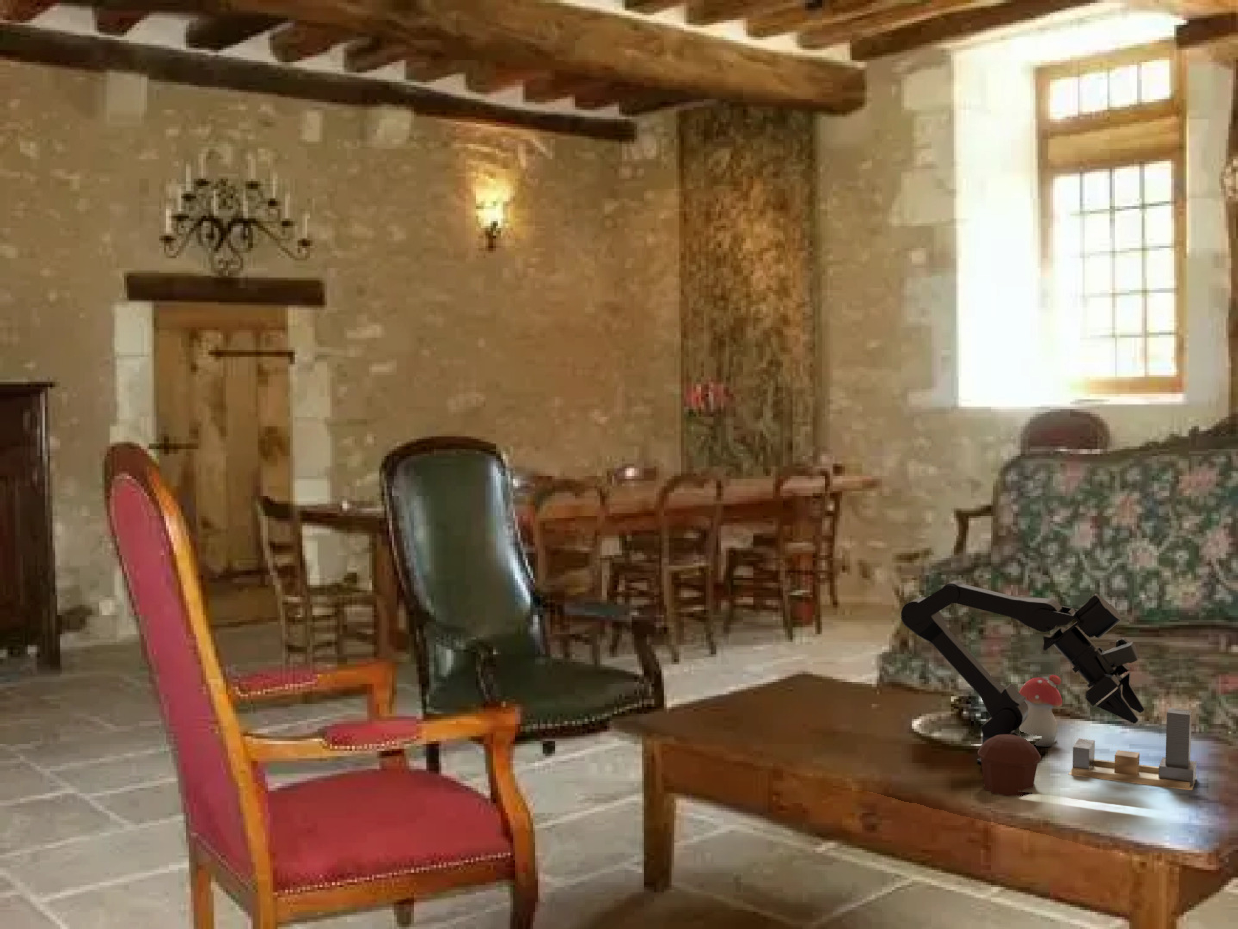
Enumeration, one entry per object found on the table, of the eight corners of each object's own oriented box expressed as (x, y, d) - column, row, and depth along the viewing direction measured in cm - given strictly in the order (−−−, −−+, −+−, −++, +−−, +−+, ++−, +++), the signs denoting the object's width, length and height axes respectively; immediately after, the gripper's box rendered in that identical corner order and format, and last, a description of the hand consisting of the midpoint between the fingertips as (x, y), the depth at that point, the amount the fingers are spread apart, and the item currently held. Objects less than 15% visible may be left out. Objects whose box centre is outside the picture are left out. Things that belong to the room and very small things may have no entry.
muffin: (1053, 792, 261) (1054, 739, 260) (1014, 802, 254) (1015, 748, 254) (1002, 777, 270) (1003, 726, 270) (963, 786, 264) (964, 734, 263)
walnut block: (1114, 775, 267) (1114, 755, 267) (1117, 770, 270) (1117, 750, 270) (1136, 778, 265) (1136, 757, 265) (1139, 773, 269) (1139, 752, 268)
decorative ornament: (1066, 746, 293) (1068, 675, 292) (1046, 750, 289) (1047, 679, 288) (1031, 736, 300) (1032, 667, 299) (1010, 740, 297) (1012, 671, 296)
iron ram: (1158, 781, 262) (1160, 713, 261) (1162, 772, 268) (1164, 705, 267) (1192, 786, 259) (1195, 717, 259) (1196, 777, 265) (1198, 709, 264)
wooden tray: (1068, 780, 268) (1068, 769, 268) (1076, 767, 277) (1077, 756, 277) (1191, 796, 258) (1192, 784, 258) (1196, 782, 267) (1196, 771, 267)
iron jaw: (1072, 772, 269) (1072, 747, 269) (1078, 763, 275) (1078, 738, 275) (1088, 774, 268) (1089, 749, 267) (1094, 765, 274) (1094, 740, 274)
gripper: (1106, 635, 259) (1167, 701, 255) (1120, 619, 276) (1177, 681, 271) (1061, 672, 263) (1120, 738, 259) (1077, 654, 280) (1133, 715, 276)
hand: (1139, 716), depth 266 cm, fingers open, 9 cm apart
